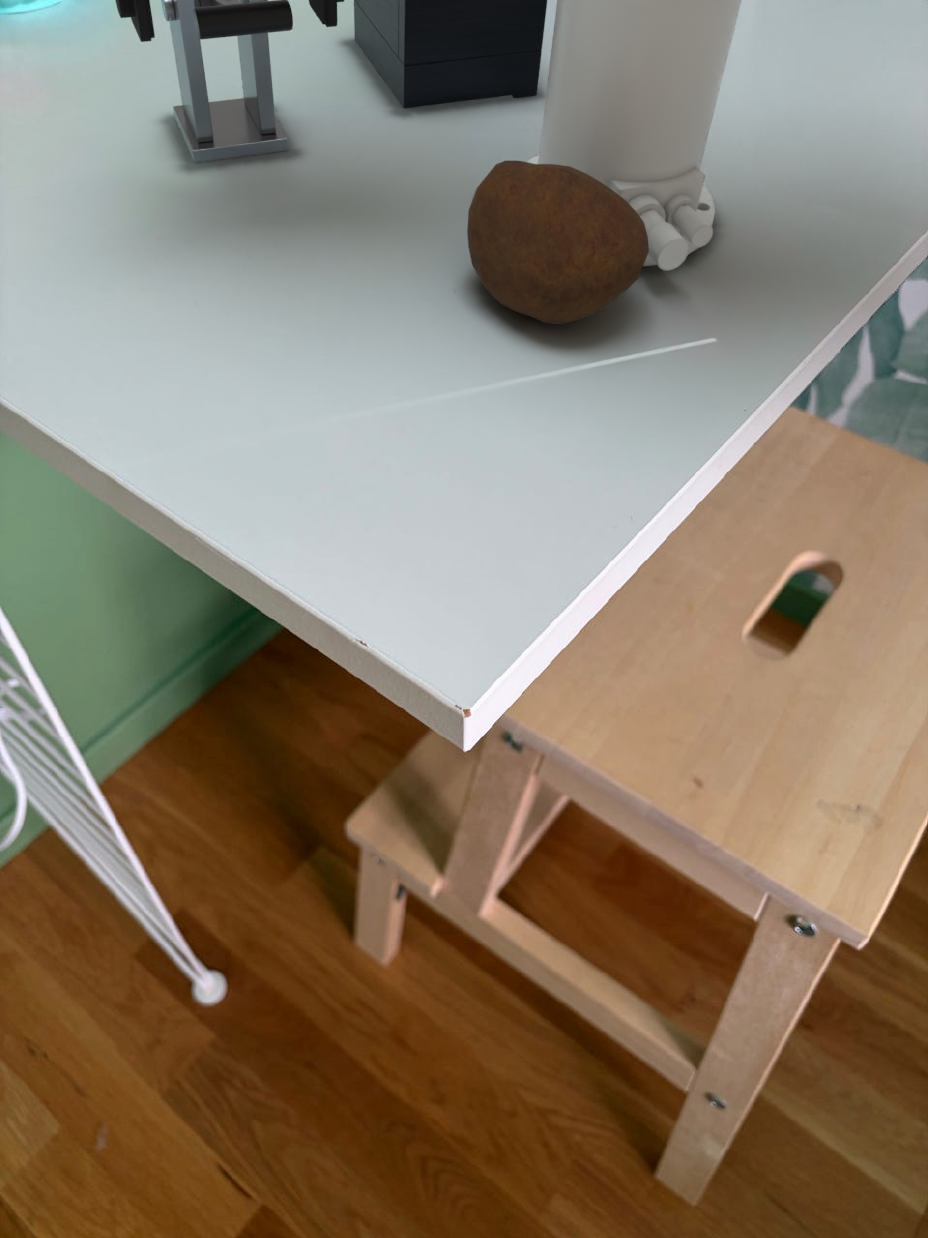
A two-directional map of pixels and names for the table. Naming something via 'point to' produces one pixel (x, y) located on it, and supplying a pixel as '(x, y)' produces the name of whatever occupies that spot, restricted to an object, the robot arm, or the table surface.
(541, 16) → the toaster
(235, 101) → the lever bracket
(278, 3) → the lever
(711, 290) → the table surface
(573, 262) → the potato
